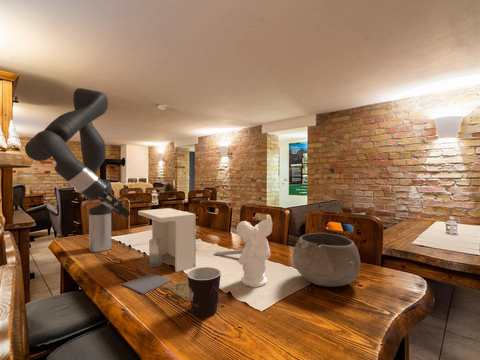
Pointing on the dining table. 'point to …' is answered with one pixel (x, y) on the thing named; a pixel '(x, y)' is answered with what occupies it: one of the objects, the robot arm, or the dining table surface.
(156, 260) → the pale cylinder
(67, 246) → the dining table surface
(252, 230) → the cherub figurine
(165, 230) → the white c-shaped side table
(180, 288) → the cookie
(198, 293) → the coffee mug
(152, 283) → the rubber mat
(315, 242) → the clay pot
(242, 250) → the caliper
